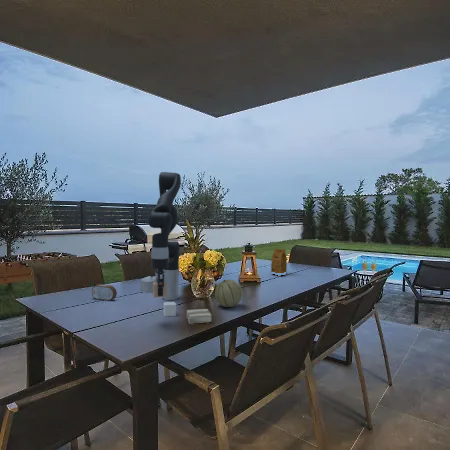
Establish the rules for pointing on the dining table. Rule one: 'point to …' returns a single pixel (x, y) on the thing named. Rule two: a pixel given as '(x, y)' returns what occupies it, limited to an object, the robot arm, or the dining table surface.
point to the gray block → (198, 316)
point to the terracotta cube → (155, 289)
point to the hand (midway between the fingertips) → (159, 294)
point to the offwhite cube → (169, 309)
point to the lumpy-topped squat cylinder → (147, 284)
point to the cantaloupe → (228, 293)
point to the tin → (104, 292)
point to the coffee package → (279, 261)
